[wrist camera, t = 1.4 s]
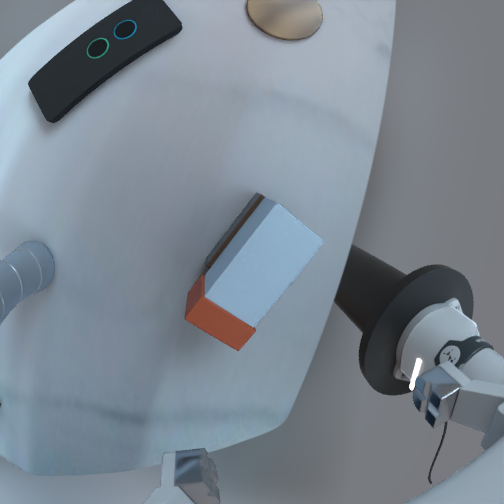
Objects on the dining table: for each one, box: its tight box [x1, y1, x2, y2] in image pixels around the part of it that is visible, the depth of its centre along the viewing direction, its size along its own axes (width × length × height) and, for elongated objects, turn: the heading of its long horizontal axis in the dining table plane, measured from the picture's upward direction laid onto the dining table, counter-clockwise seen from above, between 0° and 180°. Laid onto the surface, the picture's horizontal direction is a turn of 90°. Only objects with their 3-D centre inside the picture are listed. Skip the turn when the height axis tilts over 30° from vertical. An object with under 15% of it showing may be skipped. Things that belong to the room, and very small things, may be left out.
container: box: [185, 197, 324, 351], centre depth 31 cm, size 7×14×7 cm, turn 142°
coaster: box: [247, 0, 323, 40], centre depth 29 cm, size 10×10×1 cm
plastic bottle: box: [0, 241, 54, 324], centre depth 24 cm, size 6×7×20 cm
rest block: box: [206, 193, 265, 268], centre depth 35 cm, size 7×10×3 cm
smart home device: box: [28, 0, 182, 123], centre depth 27 cm, size 8×2×20 cm
